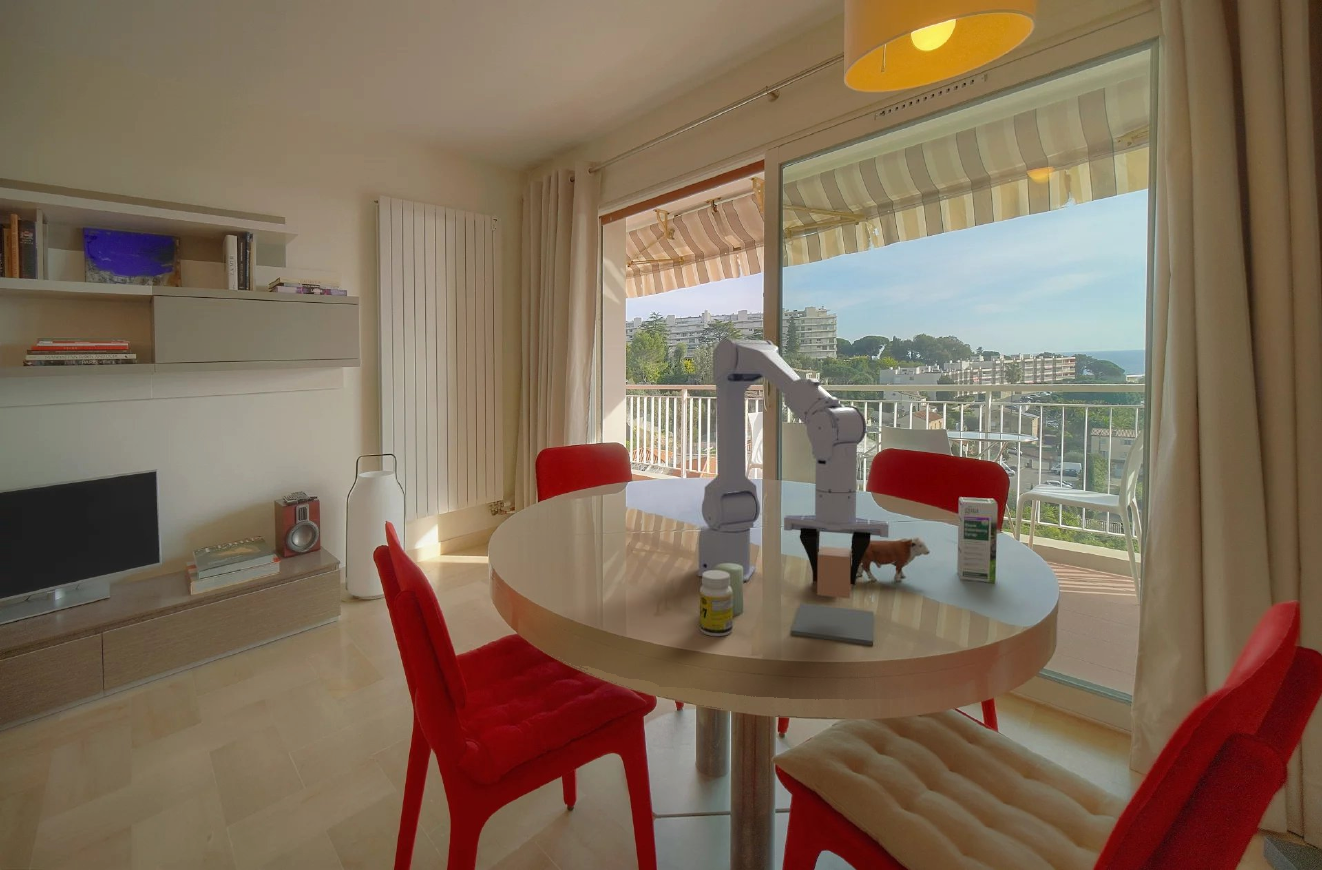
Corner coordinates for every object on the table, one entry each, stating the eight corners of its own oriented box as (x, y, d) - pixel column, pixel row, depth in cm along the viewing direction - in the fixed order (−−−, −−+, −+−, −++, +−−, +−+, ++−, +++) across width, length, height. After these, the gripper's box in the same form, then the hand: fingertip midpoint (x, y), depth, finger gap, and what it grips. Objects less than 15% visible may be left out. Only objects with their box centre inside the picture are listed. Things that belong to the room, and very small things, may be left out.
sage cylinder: (712, 613, 91) (711, 570, 91) (719, 604, 95) (719, 562, 95) (739, 617, 90) (739, 572, 89) (745, 607, 94) (745, 564, 93)
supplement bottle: (697, 624, 87) (697, 569, 87) (728, 623, 88) (728, 568, 87) (702, 638, 82) (702, 580, 82) (735, 636, 83) (735, 578, 82)
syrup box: (959, 580, 105) (962, 501, 104) (956, 570, 111) (958, 495, 110) (995, 584, 103) (998, 503, 102) (990, 574, 109) (993, 497, 108)
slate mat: (791, 634, 83) (791, 630, 83) (800, 607, 94) (800, 603, 94) (873, 645, 79) (873, 641, 79) (873, 615, 90) (873, 611, 90)
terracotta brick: (817, 594, 85) (817, 554, 84) (820, 585, 89) (820, 546, 88) (849, 598, 83) (850, 557, 83) (851, 588, 87) (851, 548, 87)
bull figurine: (930, 585, 103) (932, 539, 103) (851, 581, 106) (852, 536, 105) (924, 577, 107) (925, 533, 107) (848, 573, 110) (849, 530, 109)
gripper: (781, 491, 84) (780, 584, 85) (889, 497, 79) (887, 595, 80) (788, 484, 90) (787, 570, 91) (888, 488, 85) (886, 579, 86)
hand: (834, 580), depth 86 cm, fingers closed on terracotta brick, 4 cm apart
